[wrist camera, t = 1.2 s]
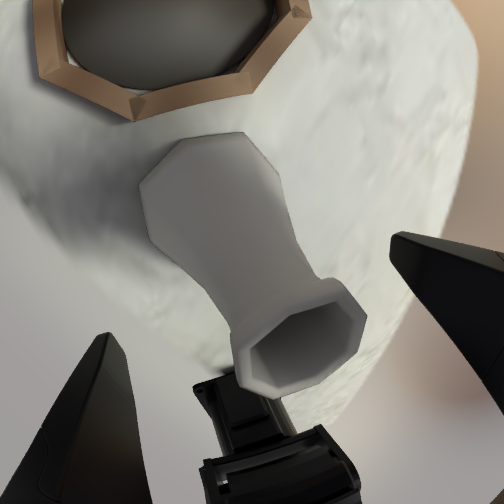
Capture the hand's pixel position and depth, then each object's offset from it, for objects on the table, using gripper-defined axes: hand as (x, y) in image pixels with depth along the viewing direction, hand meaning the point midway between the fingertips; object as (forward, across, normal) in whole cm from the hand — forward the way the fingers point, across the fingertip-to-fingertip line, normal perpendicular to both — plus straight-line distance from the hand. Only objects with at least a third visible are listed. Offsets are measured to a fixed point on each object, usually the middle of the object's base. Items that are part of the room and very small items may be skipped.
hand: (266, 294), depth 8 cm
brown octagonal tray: (+7, 0, -11) cm, 13 cm away
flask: (+8, 0, 0) cm, 8 cm away
